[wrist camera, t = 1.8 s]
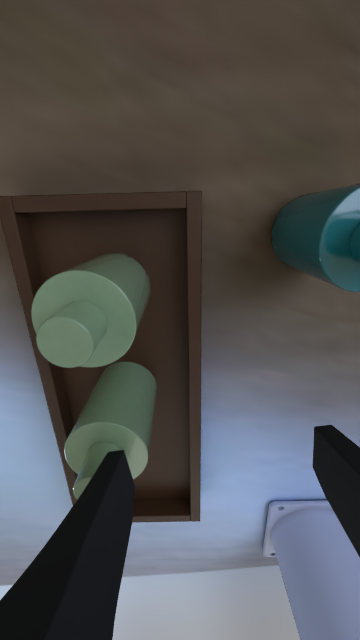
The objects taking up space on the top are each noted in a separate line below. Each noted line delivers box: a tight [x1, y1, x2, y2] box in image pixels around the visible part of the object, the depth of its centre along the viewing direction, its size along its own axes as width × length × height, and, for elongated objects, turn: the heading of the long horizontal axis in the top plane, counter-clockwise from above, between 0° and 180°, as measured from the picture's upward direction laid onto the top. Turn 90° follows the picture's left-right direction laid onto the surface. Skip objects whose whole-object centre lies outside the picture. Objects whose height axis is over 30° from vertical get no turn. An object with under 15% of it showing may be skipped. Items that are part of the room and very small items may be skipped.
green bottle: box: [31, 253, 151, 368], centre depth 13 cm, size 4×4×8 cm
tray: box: [0, 191, 202, 522], centre depth 19 cm, size 11×26×2 cm, turn 1°
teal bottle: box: [272, 184, 360, 292], centre depth 12 cm, size 4×4×8 cm
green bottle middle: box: [64, 362, 157, 500], centre depth 16 cm, size 4×4×8 cm
